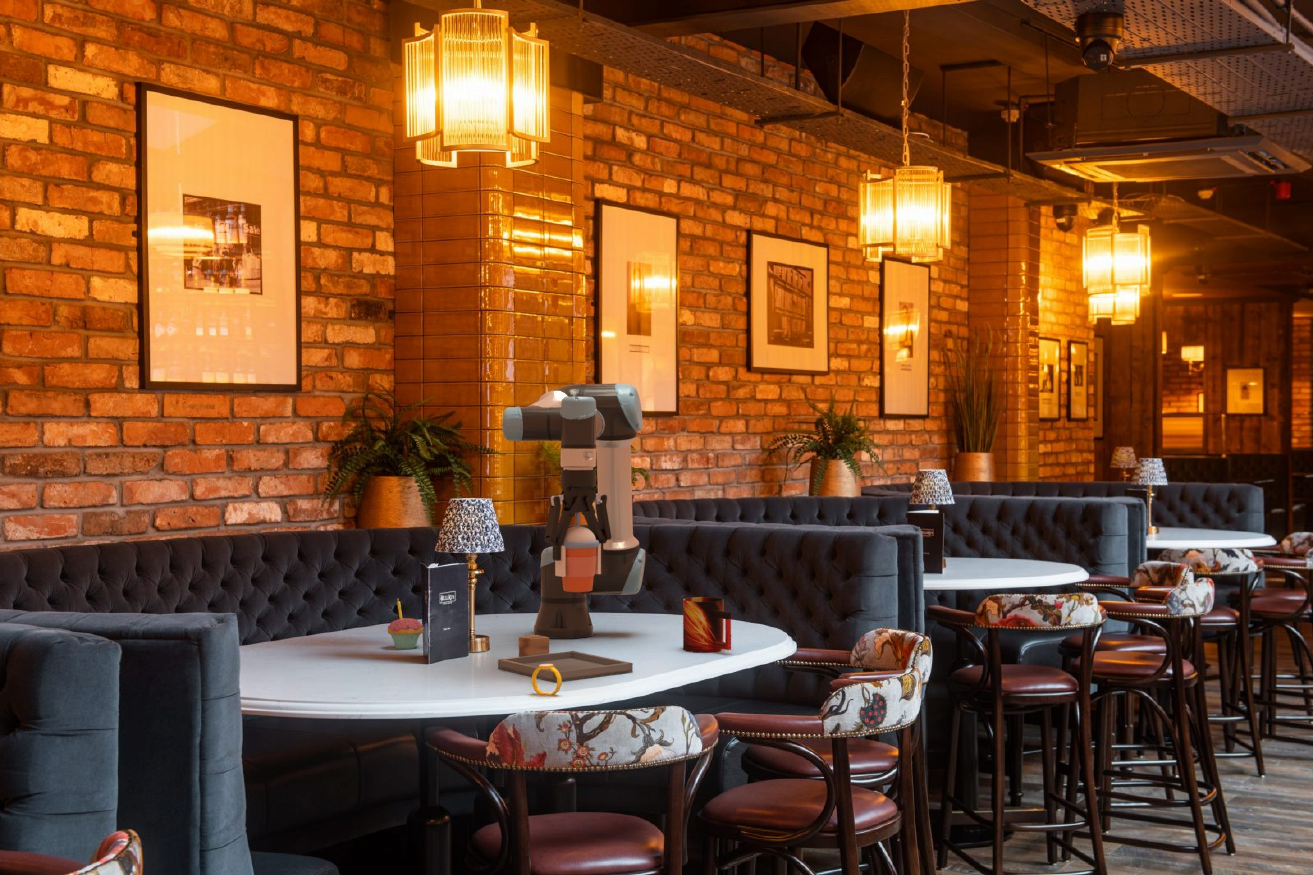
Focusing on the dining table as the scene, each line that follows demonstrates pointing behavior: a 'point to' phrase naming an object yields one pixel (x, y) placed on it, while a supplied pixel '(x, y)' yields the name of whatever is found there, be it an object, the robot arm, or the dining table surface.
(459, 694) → the dining table surface
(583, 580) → the cup with straw
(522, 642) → the walnut block
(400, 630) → the cupcake
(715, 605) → the mug
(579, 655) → the tray
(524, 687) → the dining table surface
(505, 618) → the dining table surface
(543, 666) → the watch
